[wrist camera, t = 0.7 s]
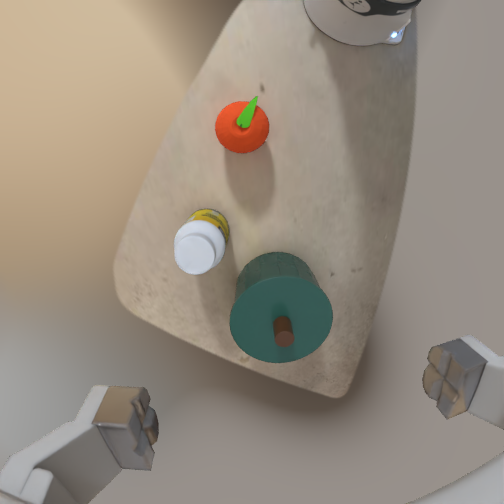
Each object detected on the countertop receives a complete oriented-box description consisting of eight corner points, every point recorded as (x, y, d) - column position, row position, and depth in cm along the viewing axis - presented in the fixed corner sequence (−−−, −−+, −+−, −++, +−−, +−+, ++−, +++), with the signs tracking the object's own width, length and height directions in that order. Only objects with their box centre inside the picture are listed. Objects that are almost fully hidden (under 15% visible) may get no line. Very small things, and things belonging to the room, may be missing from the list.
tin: (263, 237, 46) (266, 260, 37) (330, 276, 48) (346, 305, 39) (222, 301, 49) (216, 335, 40) (286, 333, 52) (293, 369, 43)
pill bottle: (236, 240, 46) (232, 271, 35) (197, 255, 47) (181, 289, 36) (219, 200, 44) (209, 219, 33) (179, 216, 45) (157, 240, 34)
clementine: (233, 91, 38) (230, 80, 32) (279, 110, 39) (284, 104, 33) (209, 140, 41) (202, 140, 34) (254, 160, 42) (255, 163, 35)
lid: (264, 253, 37) (266, 268, 33) (350, 301, 40) (360, 320, 35) (212, 333, 41) (208, 354, 37) (293, 369, 44) (297, 391, 39)
